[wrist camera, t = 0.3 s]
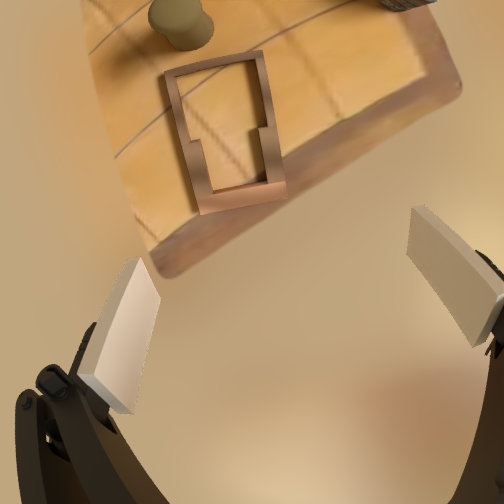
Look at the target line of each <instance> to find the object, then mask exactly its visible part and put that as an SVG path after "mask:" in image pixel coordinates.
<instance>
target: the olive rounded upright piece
mask: <svg viewBox="0 0 504 504" xmlns="http://www.w3.org/2000/svg"><path fill="white" fill-rule="evenodd" d="M148 21H149V23H150V25H151V27H152V28H153V29H154V30H155V31H156V32H158V33H160V34H163V35H165V36H166V37H167V39H168V41H169V43H170V44H171V45H172V46H173V47H174V48H177V49H179V50H183V51H191V50H196V49H198V48H201V47H203V46H204V45H205V44H206V43H208V42H209V40H210V39H211V37H212V36H213V32H214V23H213V21H212V19H211V17H209V16H208V15H207V14H206V13H205V12H203V9H202V4H201V2H200V0H154V1H153V3H152V4H151V6H150V8H149V11H148Z"/></svg>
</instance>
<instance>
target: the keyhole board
mask: <svg viewBox="0 0 504 504" xmlns="http://www.w3.org/2000/svg"><path fill="white" fill-rule="evenodd" d="M250 60H255V63H256V68H257V73H258V78H259V84H260V89H261V94H262V99H263V105H264V110H265V116H266V121H267V126H261V127H258V132H259V137H260V143H261V148H262V154H263V159H264V165H265V171H266V176H267V181H262V182H256V183H251V184H245V185H240V186H235V187H230V188H225V189H220V190H215V191H213V189H212V185H211V181H210V177H209V173H208V169H207V165H206V161H205V157H204V153H203V149H202V145H201V140H200V139H198V140H193V141H191V140H190V136H189V132H188V128H187V123H186V119H185V115H184V111H183V107H182V103H181V98H180V94H179V90H178V85H177V81H176V77H177V76H181V75H184V74H188V73H192V72H196V71H200V70H204V69H209V68H213V67H218V66H222V65H227V64H233V63H238V62H244V61H250ZM164 76H165V80H166V84H167V89H168V93H169V97H170V101H171V105H172V110H173V114H174V118H175V122H176V126H177V130H178V134H179V138H180V141H181V145H182V149H183V153H184V157H185V161H186V164H187V168H188V172H189V175H190V179H191V183H192V186H193V190H194V194H195V197H196V201H197V204H198V208H199V211H200V215H203V214H207V213H212V212H217V211H222V210H227V209H232V208H238V207H243V206H248V205H254V204H259V203H265V202H270V201H276V200H282V199H287V198H288V197H287V190H286V183H285V176H284V169H283V163H282V156H281V150H280V144H279V138H278V132H277V126H276V120H275V114H274V108H273V103H272V97H271V92H270V86H269V81H268V76H267V71H266V65H265V60H264V56H263V51H262V50H258V51H251V52H245V53H239V54H234V55H228V56H223V57H218V58H214V59H209V60H205V61H201V62H196V63H192V64H189V65H185V66H181V67H178V68H174V69H171V70H167V71H164Z"/></svg>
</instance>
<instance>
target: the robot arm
mask: <svg viewBox="0 0 504 504" xmlns="http://www.w3.org/2000/svg"><path fill="white" fill-rule="evenodd" d="M407 255H408V256H409V258H410V259H411V260H412V261H413V263H414V264H415V265H416V267H417V268H418V269H419V270H420V272H421V273H422V274H423V276H424V277H425V278H426V280H427V281H428V282H429V284H430V285H431V286H432V288H433V289H434V290H435V292H436V293H437V295H438V296H439V297H440V299H441V300H442V302H443V303H444V305H445V306H446V307H447V309H448V310H449V312H450V313H451V315H452V316H453V318H454V319H455V321H456V322H457V324H458V325H459V327H460V329H461V330H462V332H463V333H464V335H465V336H466V338H467V340H468V341H469V343H470V344H471V346H472V348H474V347H476V346H478V345H480V344H482V343H484V342H486V340H487V338H488V336H489V334H490V332H492V334H493V335H494V338H493V340H492V342H491V344H490V345H489V347H488V349H487V350H486V353H485V355H486V356H487V354H488V353H489V351H490V350H491V355H490V365H489V372H488V379H487V385H486V391H485V396H484V401H483V406H482V411H481V415H480V419H479V423H478V427H477V431H476V434H475V438H474V441H473V445H472V448H471V451H470V454H469V457H468V460H467V463H466V466H465V469H464V471H463V474H462V476H461V479H460V482H459V484H458V486H457V489H456V491H455V493H454V495H453V497H452V499H451V500H450V502H449V503H448V504H504V274H503V273H502V272H501V271H500V270H498V268H497V267H496V266H495V265H494V264H493V263H492V262H491V260H490V259H489V258H488V257H486V256H485V255H484V254H482V253H480V252H479V251H477V250H475V251H474V250H473V249H472V248H471V247H470V246H469V245H468V244H467V243H466V242H465V241H464V240H463V239H462V238H461V237H460V236H459V235H458V234H456V233H455V232H454V231H453V230H452V229H451V228H450V227H449V226H448V225H447V224H445V223H444V222H443V221H442V220H441V219H440V218H439V217H437V216H436V215H435V214H434V213H433V212H432V211H430V210H429V209H428V208H427V207H426V206H424V205H421V206H415V207H412V208H411V220H410V230H409V239H408V247H407ZM160 301H161V299H160V297H159V295H158V293H157V291H156V289H155V287H154V285H153V283H152V280H151V278H150V276H149V274H148V272H147V270H146V267H145V265H144V263H143V261H142V259H141V257H137V258H132V259H127V260H126V263H125V264H124V266H123V268H122V270H121V272H120V274H119V276H118V278H117V280H116V283H115V285H114V287H113V289H112V291H111V293H110V295H109V297H108V299H107V301H106V304H105V306H104V308H103V310H102V312H101V315H100V317H99V319H98V322H94V323H92V325H91V326H90V327H89V328H88V329H87V331H86V332H85V335H84V337H83V339H82V343H81V344H80V346H79V351H77V354H76V356H75V359H74V361H73V364H72V366H71V369H70V371H69V374H68V375H67V374H66V373H65V372H64V371H63V370H62V369H61V368H60V366H58V365H56V364H51V365H48V366H47V367H45V368H44V369H43V370H42V371H41V372H40V373H39V375H38V376H37V379H36V388H37V389H38V390H39V391H40V392H41V393H42V394H43V395H41V396H39V395H38V394H37V393H36V392H35V391H34V390H32V389H27V390H25V391H23V392H22V393H21V394H20V395H19V397H18V399H17V402H16V409H15V444H16V462H17V473H18V482H19V489H20V496H21V501H22V504H170V503H169V502H168V501H167V499H166V498H165V497H164V496H163V495H162V493H161V492H160V491H159V489H158V488H157V487H156V485H155V484H154V483H153V481H152V480H151V478H150V477H149V476H148V474H147V473H146V471H145V470H144V468H143V467H142V465H141V464H140V463H139V461H138V460H137V458H136V456H135V455H134V453H133V452H132V450H131V449H130V447H129V445H128V444H127V442H126V440H125V439H124V437H123V436H122V434H121V432H120V430H119V429H118V427H117V425H116V423H115V421H114V420H113V418H112V417H111V415H110V414H109V413H108V412H109V408H110V407H111V408H112V409H114V410H115V411H116V412H117V413H120V414H134V412H135V406H136V402H137V397H138V392H139V387H140V383H141V378H142V373H143V369H144V364H145V360H146V356H147V352H148V347H149V343H150V339H151V335H152V331H153V327H154V323H155V320H156V316H157V312H158V308H159V305H160ZM46 435H47V436H48V437H49V443H48V442H47V441H46Z"/></svg>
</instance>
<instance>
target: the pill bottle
mask: <svg viewBox="0 0 504 504" xmlns="http://www.w3.org/2000/svg"><path fill="white" fill-rule="evenodd" d="M378 1H379V2H380V3H381V4H382V5H383V6H385V7H386V8H388V9H389V10H392V11H396V12H403V11H406V10H410V9H412V8H416V7H419V6H423V5H426V4H430V3H434V2H436V1H437V0H378Z"/></svg>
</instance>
